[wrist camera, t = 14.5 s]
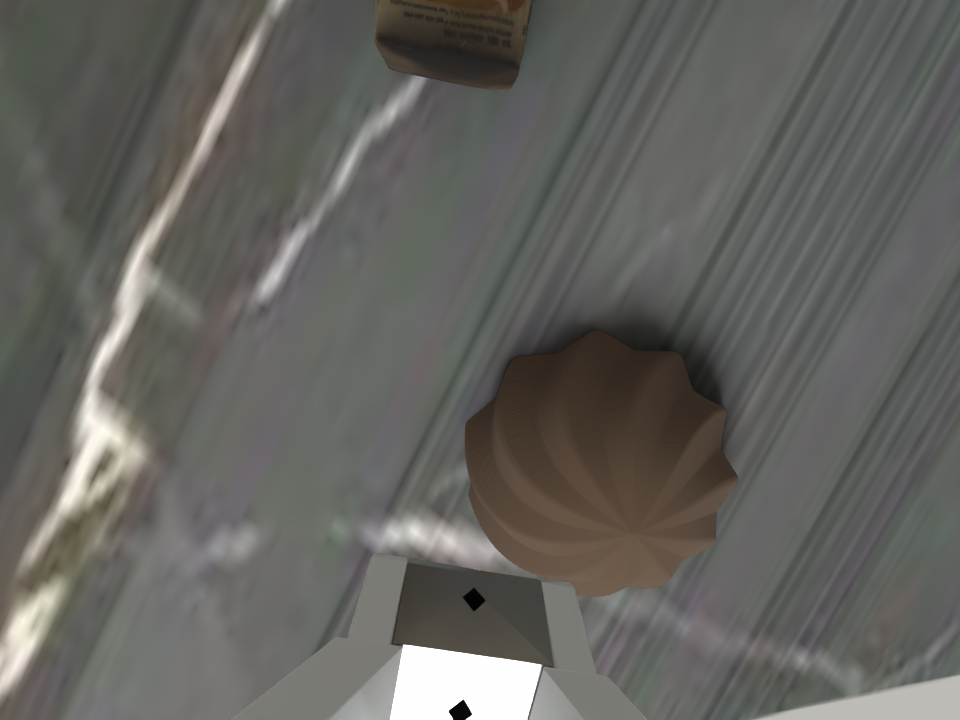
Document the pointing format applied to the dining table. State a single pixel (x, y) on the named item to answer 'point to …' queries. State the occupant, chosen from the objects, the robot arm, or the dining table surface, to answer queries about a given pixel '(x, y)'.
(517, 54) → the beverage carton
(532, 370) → the decorative dome
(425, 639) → the robot arm
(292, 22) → the dining table surface
